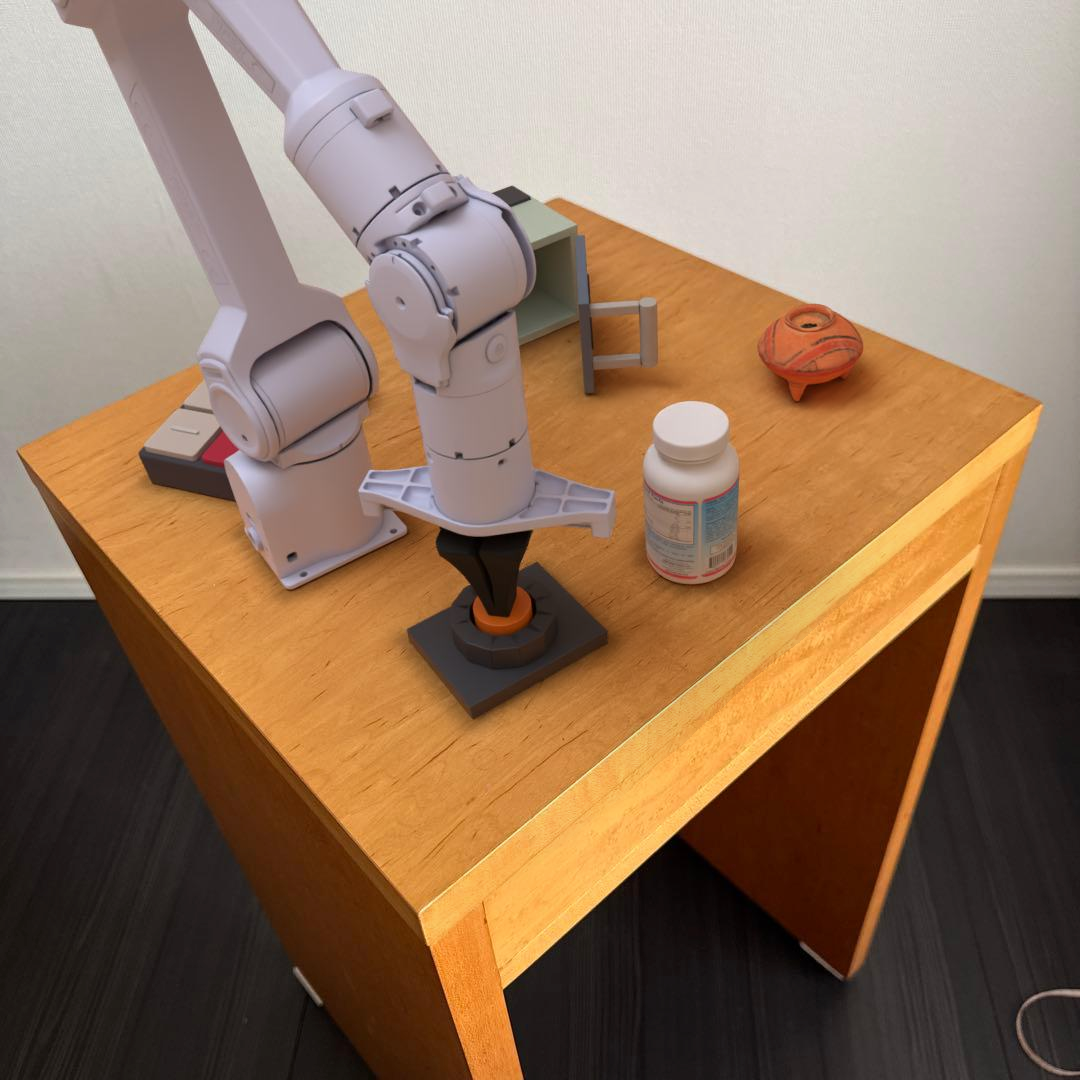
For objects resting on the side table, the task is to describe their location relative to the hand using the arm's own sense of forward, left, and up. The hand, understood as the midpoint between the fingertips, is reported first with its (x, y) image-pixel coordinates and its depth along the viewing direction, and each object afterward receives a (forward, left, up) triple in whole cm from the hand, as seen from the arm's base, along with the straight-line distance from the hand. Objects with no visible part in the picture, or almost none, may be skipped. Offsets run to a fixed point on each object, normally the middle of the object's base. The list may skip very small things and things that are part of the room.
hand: (502, 605), depth 69 cm
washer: (+20, +34, -3) cm, 39 cm away
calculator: (-4, +31, -4) cm, 32 cm away
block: (0, 0, -3) cm, 3 cm away
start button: (0, 0, -2) cm, 2 cm away
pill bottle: (+14, -1, -4) cm, 14 cm away
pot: (+34, +9, -4) cm, 35 cm away
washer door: (+25, +21, -3) cm, 33 cm away
